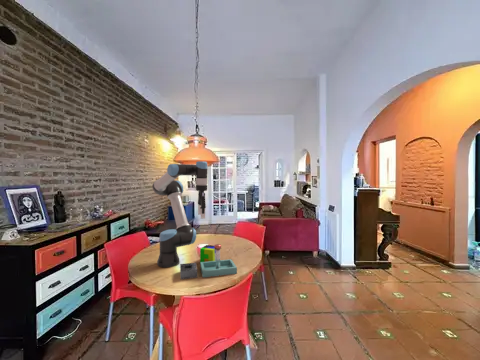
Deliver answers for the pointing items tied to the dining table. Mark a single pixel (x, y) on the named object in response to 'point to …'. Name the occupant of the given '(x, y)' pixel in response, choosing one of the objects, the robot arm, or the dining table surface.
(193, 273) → the block
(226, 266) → the tray
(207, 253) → the puzzle toy
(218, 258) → the pin
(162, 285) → the dining table surface
